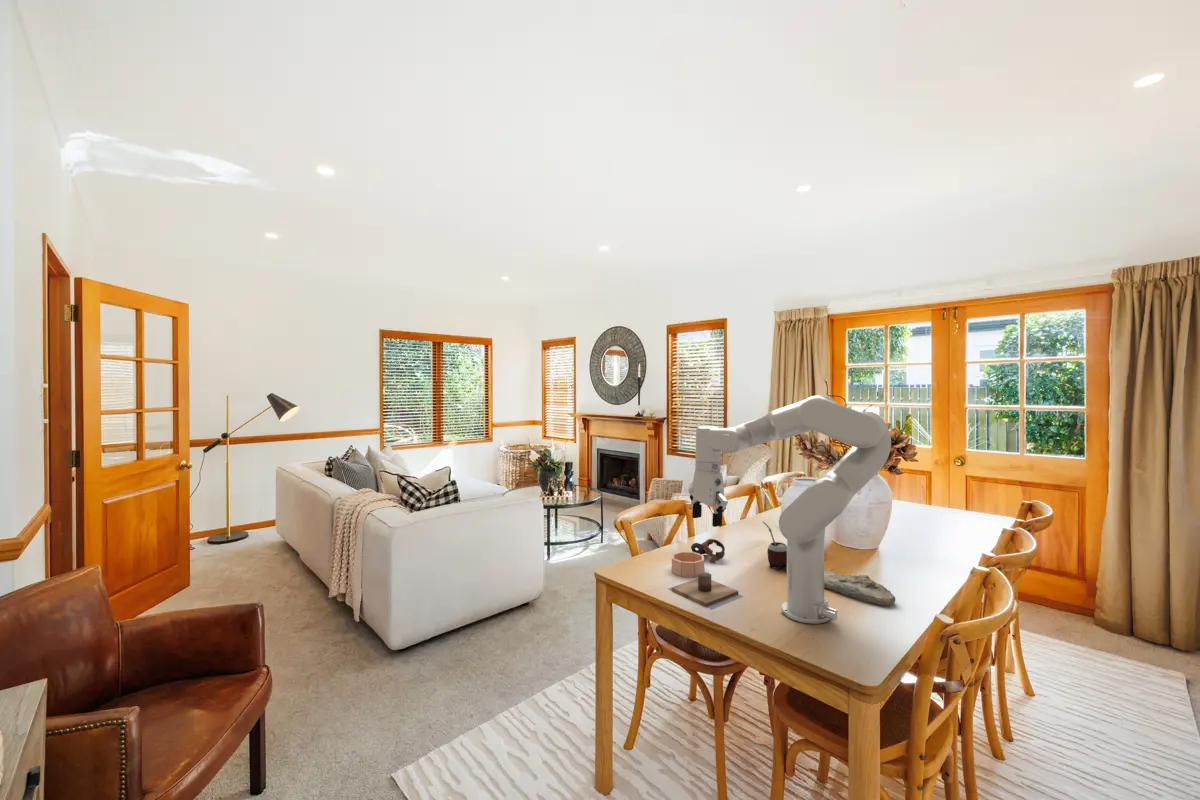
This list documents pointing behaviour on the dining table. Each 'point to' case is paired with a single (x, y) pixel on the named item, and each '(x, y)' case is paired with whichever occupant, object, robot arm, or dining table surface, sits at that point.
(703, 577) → the lid
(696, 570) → the bowl
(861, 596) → the long grey stone
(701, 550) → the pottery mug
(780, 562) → the mate gourd
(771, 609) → the dining table surface
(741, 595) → the mat
